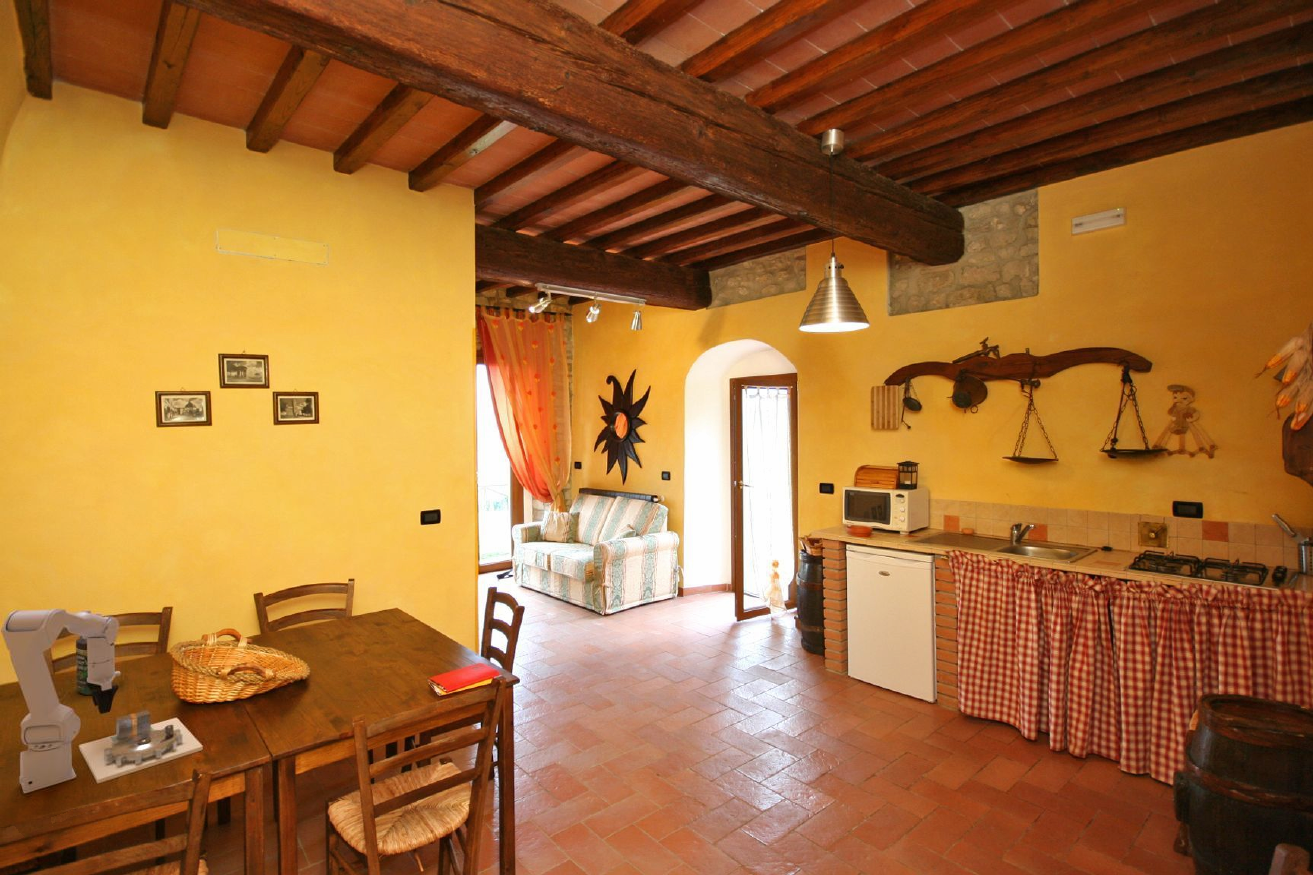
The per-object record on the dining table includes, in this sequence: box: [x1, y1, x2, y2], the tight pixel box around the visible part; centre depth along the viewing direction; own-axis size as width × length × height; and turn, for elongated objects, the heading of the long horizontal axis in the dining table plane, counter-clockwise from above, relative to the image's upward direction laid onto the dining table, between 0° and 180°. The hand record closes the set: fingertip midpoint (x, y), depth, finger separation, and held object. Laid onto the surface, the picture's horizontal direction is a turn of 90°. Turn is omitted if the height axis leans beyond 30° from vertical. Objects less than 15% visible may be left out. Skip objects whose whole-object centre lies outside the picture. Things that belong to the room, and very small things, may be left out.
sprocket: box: [104, 725, 183, 766], centre depth 176 cm, size 17×17×5 cm
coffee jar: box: [75, 635, 91, 696], centre depth 217 cm, size 10×8×19 cm
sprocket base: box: [78, 717, 204, 784], centre depth 178 cm, size 22×26×1 cm
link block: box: [115, 710, 151, 740], centre depth 185 cm, size 7×4×5 cm, turn 138°
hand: (102, 708), depth 182 cm, fingers open, 7 cm apart
